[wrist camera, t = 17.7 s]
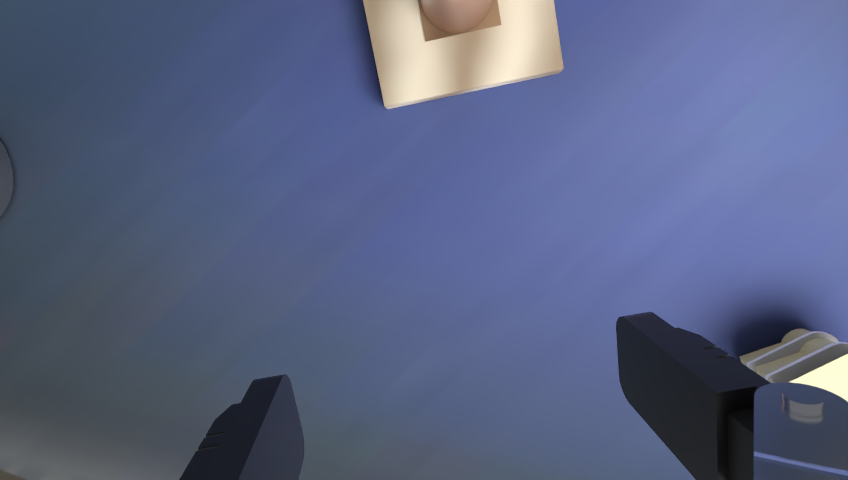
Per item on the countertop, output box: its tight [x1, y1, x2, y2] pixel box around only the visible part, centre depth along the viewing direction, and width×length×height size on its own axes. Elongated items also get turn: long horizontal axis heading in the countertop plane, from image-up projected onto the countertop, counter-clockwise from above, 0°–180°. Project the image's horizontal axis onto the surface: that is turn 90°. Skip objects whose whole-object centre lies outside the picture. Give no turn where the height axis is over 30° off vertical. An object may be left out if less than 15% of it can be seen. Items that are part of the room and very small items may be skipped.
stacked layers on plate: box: [739, 329, 848, 402], centre depth 33 cm, size 10×9×6 cm
